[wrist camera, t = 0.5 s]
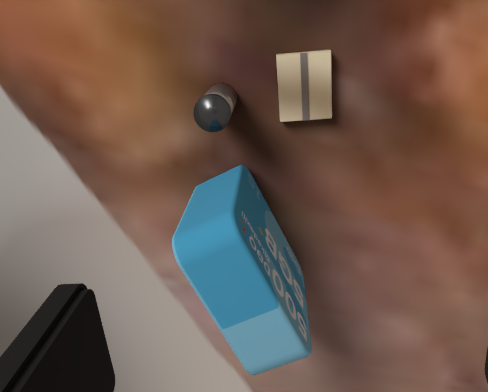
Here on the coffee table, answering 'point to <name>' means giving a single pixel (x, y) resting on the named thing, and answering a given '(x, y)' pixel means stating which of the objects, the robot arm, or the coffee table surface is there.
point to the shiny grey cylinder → (215, 107)
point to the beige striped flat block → (304, 85)
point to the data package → (244, 271)
